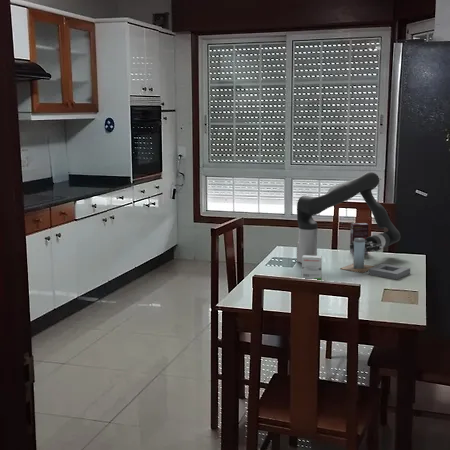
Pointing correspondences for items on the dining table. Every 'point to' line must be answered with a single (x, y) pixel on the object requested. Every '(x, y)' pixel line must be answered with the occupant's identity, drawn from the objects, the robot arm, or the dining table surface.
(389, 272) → the frame
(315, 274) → the ink box
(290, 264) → the dining table surface
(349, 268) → the pad
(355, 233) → the supplement box
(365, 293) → the dining table surface
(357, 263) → the cylinder
